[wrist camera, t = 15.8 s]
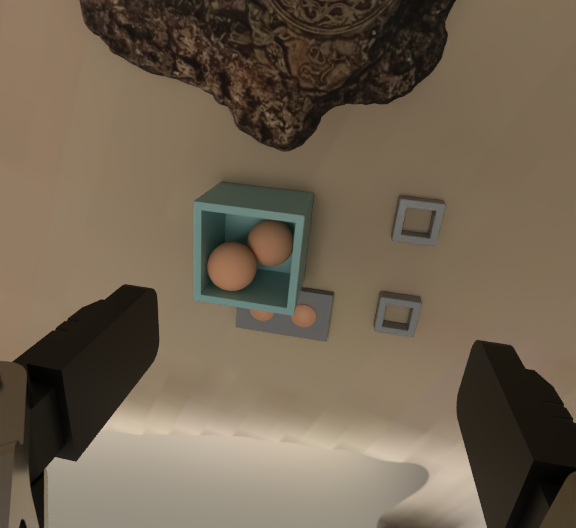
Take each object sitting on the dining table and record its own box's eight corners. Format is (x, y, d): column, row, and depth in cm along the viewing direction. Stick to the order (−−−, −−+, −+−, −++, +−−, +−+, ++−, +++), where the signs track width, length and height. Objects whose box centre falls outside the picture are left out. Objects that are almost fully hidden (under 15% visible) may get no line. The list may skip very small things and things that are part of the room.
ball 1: (225, 276, 31) (188, 271, 34) (253, 303, 34) (217, 296, 36) (248, 233, 33) (211, 231, 35) (272, 261, 36) (237, 258, 38)
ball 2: (285, 212, 38) (303, 226, 34) (282, 253, 39) (299, 271, 36) (242, 214, 36) (256, 229, 33) (241, 257, 38) (254, 276, 35)
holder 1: (443, 200, 35) (446, 204, 34) (433, 241, 37) (435, 246, 35) (399, 195, 35) (400, 198, 34) (391, 236, 37) (392, 240, 36)
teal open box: (314, 193, 36) (304, 215, 30) (304, 279, 40) (293, 315, 33) (221, 181, 37) (193, 201, 31) (219, 266, 41) (193, 300, 34)
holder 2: (420, 296, 39) (421, 303, 38) (411, 330, 40) (413, 337, 39) (380, 291, 39) (380, 297, 38) (373, 324, 40) (374, 331, 39)
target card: (333, 292, 40) (333, 296, 39) (327, 337, 42) (326, 342, 41) (240, 278, 41) (237, 282, 40) (238, 323, 43) (235, 328, 42)
